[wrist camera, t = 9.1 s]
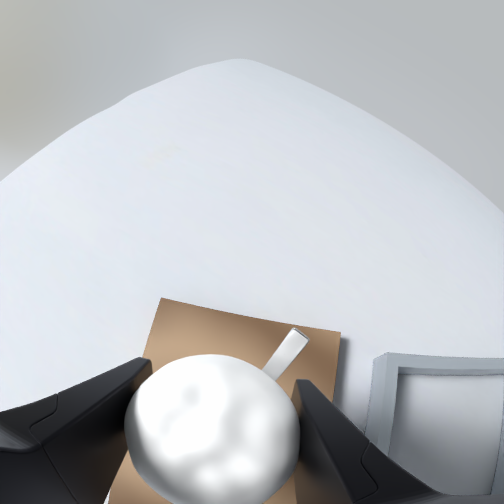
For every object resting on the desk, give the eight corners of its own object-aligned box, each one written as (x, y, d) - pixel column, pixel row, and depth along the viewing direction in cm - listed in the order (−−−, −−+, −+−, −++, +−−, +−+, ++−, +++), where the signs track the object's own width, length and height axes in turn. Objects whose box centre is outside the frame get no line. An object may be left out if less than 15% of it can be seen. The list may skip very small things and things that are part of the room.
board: (288, 567, 10) (291, 573, 9) (110, 526, 10) (104, 530, 9) (336, 336, 18) (340, 332, 17) (164, 303, 19) (161, 297, 18)
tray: (489, 517, 9) (505, 520, 7) (335, 553, 10) (345, 565, 8) (509, 364, 16) (525, 357, 14) (373, 359, 17) (387, 352, 15)
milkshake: (297, 411, 14) (384, 394, 5) (228, 483, 12) (215, 572, 3) (231, 358, 15) (223, 269, 7) (162, 426, 13) (58, 426, 5)
